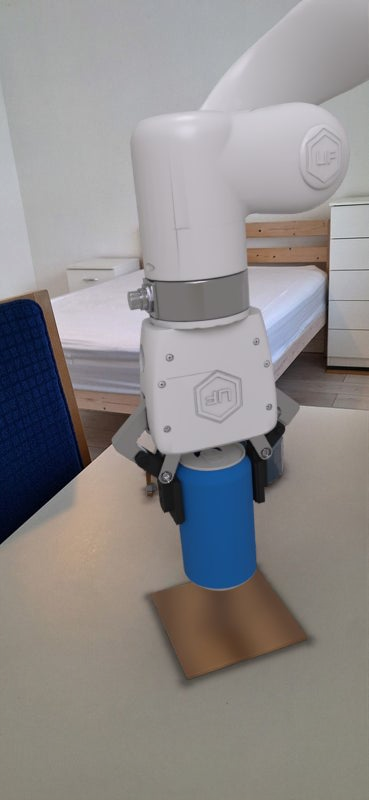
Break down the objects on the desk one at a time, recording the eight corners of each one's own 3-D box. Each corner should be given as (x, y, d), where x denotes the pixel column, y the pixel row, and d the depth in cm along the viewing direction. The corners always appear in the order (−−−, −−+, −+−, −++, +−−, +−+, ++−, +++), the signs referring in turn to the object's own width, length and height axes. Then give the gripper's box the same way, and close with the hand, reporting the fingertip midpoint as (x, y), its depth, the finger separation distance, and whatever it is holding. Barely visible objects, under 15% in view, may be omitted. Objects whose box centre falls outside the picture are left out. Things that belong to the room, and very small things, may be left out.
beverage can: (237, 543, 57) (229, 429, 53) (270, 582, 51) (264, 458, 47) (174, 563, 55) (160, 446, 51) (201, 606, 49) (188, 478, 45)
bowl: (259, 444, 88) (258, 412, 86) (300, 480, 77) (299, 445, 75) (181, 462, 84) (177, 430, 82) (211, 503, 73) (208, 467, 72)
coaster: (254, 566, 61) (254, 563, 61) (307, 639, 52) (307, 636, 51) (151, 597, 58) (151, 593, 58) (187, 680, 49) (186, 676, 48)
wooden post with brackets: (140, 497, 74) (139, 461, 75) (151, 490, 82) (149, 457, 83) (155, 497, 74) (153, 460, 74) (164, 490, 82) (162, 457, 82)
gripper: (91, 326, 39) (126, 557, 45) (328, 287, 43) (328, 502, 50) (74, 305, 45) (106, 509, 52) (280, 274, 50) (286, 464, 56)
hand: (215, 504), depth 51 cm, fingers closed on beverage can, 6 cm apart
